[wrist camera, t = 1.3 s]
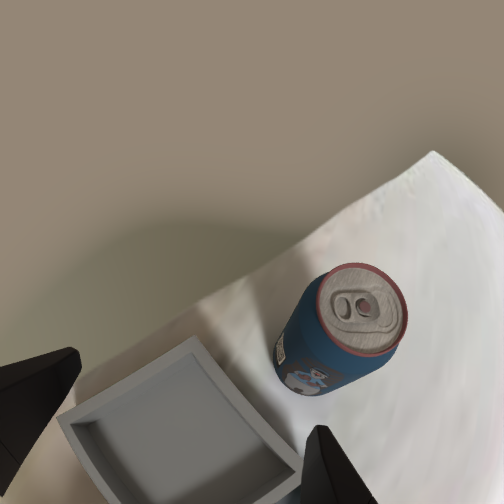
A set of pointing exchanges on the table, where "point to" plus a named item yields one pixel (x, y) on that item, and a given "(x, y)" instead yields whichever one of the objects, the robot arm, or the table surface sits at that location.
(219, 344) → the table surface
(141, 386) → the tray
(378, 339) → the soda can
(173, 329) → the table surface
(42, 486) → the table surface
